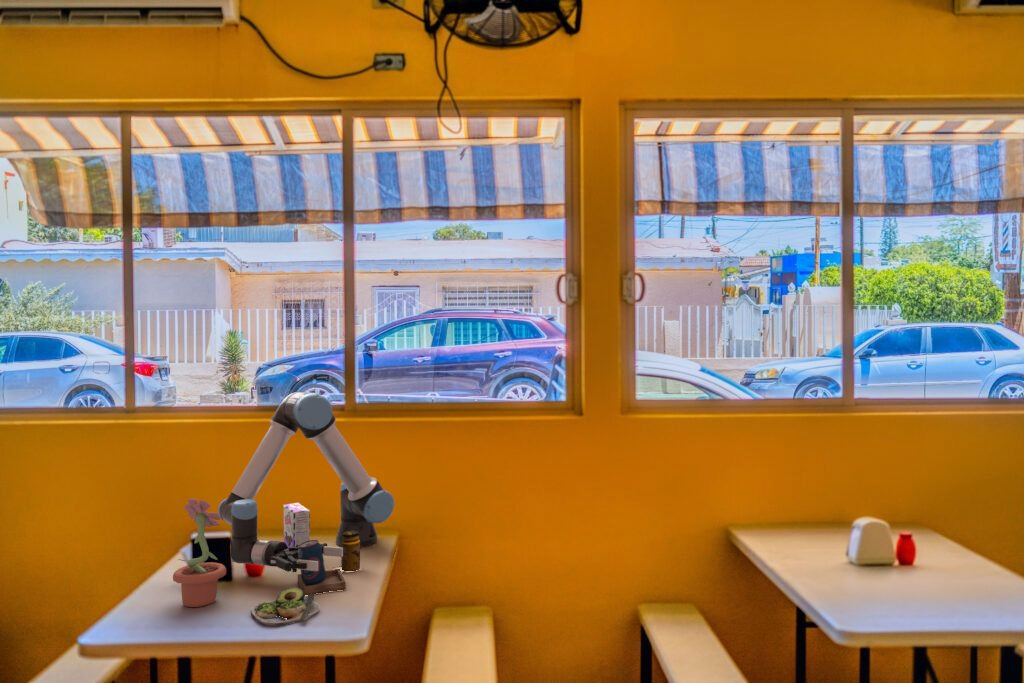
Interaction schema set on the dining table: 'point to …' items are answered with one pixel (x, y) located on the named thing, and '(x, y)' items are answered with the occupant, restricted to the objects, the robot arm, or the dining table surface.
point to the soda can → (313, 553)
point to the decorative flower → (200, 561)
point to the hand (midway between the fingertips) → (330, 559)
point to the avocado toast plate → (286, 608)
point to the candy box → (296, 524)
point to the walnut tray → (325, 583)
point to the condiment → (350, 551)
